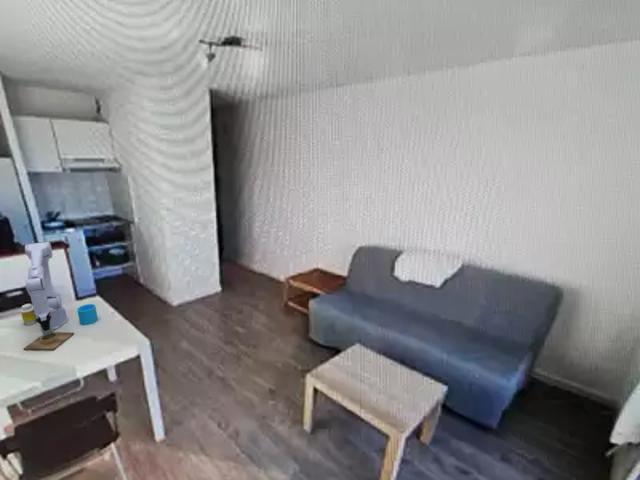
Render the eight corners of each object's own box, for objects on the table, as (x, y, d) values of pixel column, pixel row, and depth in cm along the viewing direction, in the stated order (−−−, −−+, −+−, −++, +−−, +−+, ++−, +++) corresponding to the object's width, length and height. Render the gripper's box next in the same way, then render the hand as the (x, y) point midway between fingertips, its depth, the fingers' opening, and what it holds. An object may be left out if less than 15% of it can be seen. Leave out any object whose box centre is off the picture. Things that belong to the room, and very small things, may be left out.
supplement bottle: (37, 323, 186) (33, 305, 183) (24, 326, 183) (19, 309, 180) (37, 319, 190) (33, 301, 187) (24, 322, 187) (19, 305, 184)
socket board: (46, 333, 177) (46, 331, 177) (74, 334, 177) (73, 332, 176) (23, 350, 164) (23, 348, 163) (53, 350, 163) (53, 349, 163)
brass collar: (47, 336, 173) (47, 332, 173) (61, 336, 173) (60, 332, 172) (37, 344, 167) (36, 340, 166) (51, 344, 167) (50, 340, 166)
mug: (99, 321, 189) (97, 307, 186) (81, 327, 183) (78, 313, 181) (94, 313, 197) (91, 300, 195) (77, 318, 192) (74, 304, 189)
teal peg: (46, 330, 171) (43, 317, 169) (55, 330, 171) (51, 317, 168) (40, 334, 167) (37, 321, 165) (48, 335, 167) (45, 321, 165)
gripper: (51, 305, 161) (58, 331, 165) (49, 294, 172) (55, 319, 176) (32, 310, 157) (39, 336, 161) (31, 298, 167) (37, 323, 171)
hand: (46, 328), depth 168 cm, fingers closed on teal peg, 4 cm apart
